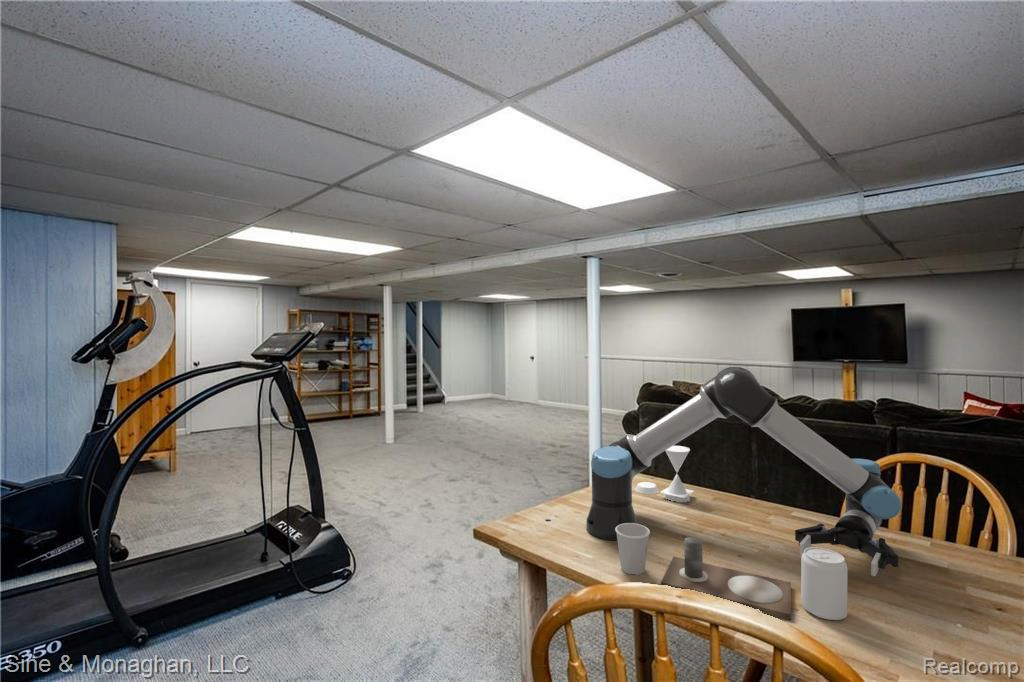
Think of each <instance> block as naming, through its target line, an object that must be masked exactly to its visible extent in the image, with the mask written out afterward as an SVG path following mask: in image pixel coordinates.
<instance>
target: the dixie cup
mask: <svg viewBox="0 0 1024 682" xmlns="http://www.w3.org/2000/svg"><path fill="white" fill-rule="evenodd" d="M615 531H616V532H617V540H616V541H617V546H618V552H619V553H618V554H619V563H620V567H621V568H620V569H621V571H622V572H623V573H625V574H627V573H628V575H630V574H635V575H634V576H640V575H643V574H644V573H645V571H646V570H645V569H646V561H647V560H646V559H647V556H648V555H647V554H648V545H649V537H650V533H651V530H650V529H649V528H648V527H646V526H645V525H642V524H640V523H638V524H635V523H624V524H620V525H618V526H617V527H616V528H615ZM642 573H643V574H642Z"/></svg>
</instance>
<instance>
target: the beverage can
mask: <svg viewBox="0 0 1024 682" xmlns="http://www.w3.org/2000/svg"><path fill="white" fill-rule="evenodd" d="M800 557H801V562H800V563H801V564H800V567H801V571H800V573H801V574H800V576H801V579H800V581H801V583H800V585H801V586H800V587H801V588H800V590H801V591H800V592H801V593H800V597H801V598H800V599H801V600H800V601H801V602H800V603H801V606H802V607H803V608H804V609H805V610H806V611H807V612H809V613H810V614H812V615H814V616H815V617H818V618H820V619H823V620H830V621H840V620H844V619H845V618H847V616H848V565H847V562H846V561H845V557H844V556H843V555H842V554H841V553H839V552H837V551H835V550H831V549H828V548H824V547H817V546H811V547H809V548H806V549H805V550H804V553H803V554H802V555H801V556H800Z"/></svg>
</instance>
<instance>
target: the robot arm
mask: <svg viewBox="0 0 1024 682" xmlns="http://www.w3.org/2000/svg"><path fill="white" fill-rule="evenodd" d="M733 415H734V416H736V417H737V418H739V419H740V420H742V421H743V422H744V423H746V424H747V425H748V426H750V427H751V428H759V429H760V430H762V431H763V432H764V433H766V434H767V435H768V436H770V437H771V438H772V439H774V440H775V441H776V442H778V443H779V444H780V445H781V446H783V447H785V448H786V449H787V450H789V451H790V452H791V453H792V454H793V455H795V456H796V457H798V459H800V460H802V461H803V462H804V463H805V464H807V465H808V466H809V467H811V468H812V469H813V470H815V471H816V472H817V473H818V474H819V475H821V476H823V477H824V478H825V479H827V480H828V481H829V482H831V483H832V484H833V485H834V486H836V487H837V488H839V489H840V490H841V491H843V492H844V493H845V512H844V513H843V515H841V517H840V518H839V519H838V521H837V522H836V524H835V526H834V527H832V528H827V527H825V524H824V523H818V524H816V525H813V526H808V527H803V528H799V529H795V530H794V540H795V541H796V542H798V546H799V556H802V554H803V553H804V550H805V549H806V548H809V547H812V545H818V544H819V545H820V544H821V545H822V544H830V545H832V546H835V545H841V546H845V547H847V548H850V549H853V550H858V551H859V552H861V553H862V554H863V553H865V554H866V555H867V556H869V557H871V559H872V560H871V562H870V575H871V576H872V577H876V576H877V574H878V572H879V569H880V570H885V569H886V568H887V566H888V565H890V566H891V567H892V568H899V555H898V554H897V553H896V552H895V551H894V550H893V549H892V548H891V546H889V545H888V544H887V543H886V539H885V538H883V537H879V538H878V539H873V538H874V536H875V534H876V532H877V530H878V529H879V528H880V527H881V525H882V522H883V520H891V519H892V518H895V517H896V516H898V515H899V513H901V510H902V500H901V498H900V497H899V495H898V494H897V492H896V491H895V490H893V489H892V488H891V487H890V486H889V485H887V484H886V482H885V481H883V479H882V478H881V475H882V472H881V469H880V468H881V467H880V464H879V463H878V462H876V461H874V460H870V459H866V458H865V459H864V458H851V457H849V456H848V455H846V454H845V453H843V452H842V451H841V450H839V448H837V447H835V446H834V445H832V444H831V443H830V442H829V441H827V440H826V439H825V438H823V437H822V436H820V435H819V434H818V433H817V432H815V431H814V430H813V429H811V428H810V427H808V426H807V425H806V424H804V423H803V422H801V420H799V419H797V417H795V416H794V415H792V414H790V413H789V412H788V411H787V410H786V409H784V408H783V407H781V406H780V405H779V404H778V399H777V398H776V397H774V396H773V395H772V394H770V393H769V392H768V391H767V390H765V388H764V387H763V386H762V385H761V384H760V383H759V381H758V380H757V378H756V377H755V375H754V374H753V373H752V372H751V371H750V370H748V369H747V368H745V367H741V366H729V367H725V368H723V369H722V370H720V371H719V372H718V373H717V374H716V375H715V376H714V377H712V378H711V379H710V380H708V381H706V382H704V384H702V385H701V386H700V390H699V393H698V394H697V395H695V396H693V397H692V398H690V399H689V400H687V401H686V402H684V403H683V404H681V405H679V406H678V407H676V408H675V409H673V410H672V411H671V412H669V413H668V414H666V415H664V416H663V417H661V418H659V420H657V421H656V422H654V423H652V424H651V425H650V426H648V427H646V428H645V429H643V430H642V431H640V432H639V433H637V434H636V435H635V434H630V433H628V434H627V435H625V436H624V437H623V438H621V439H619V440H616V441H614V442H612V443H610V444H609V445H608V446H604V447H602V448H601V447H599V448H597V449H596V450H594V451H593V453H592V454H591V460H590V466H591V505H590V508H589V512H588V514H587V518H586V530H587V532H588V533H589V534H590V535H592V536H594V537H596V538H599V539H603V540H610V541H618V540H617V532H616V531H615V528H616V527H617V526H618V525H620V524H624V523H635V524H639V521H638V519H637V517H636V516H637V515H636V513H635V509H634V506H633V490H632V489H633V480H634V478H635V476H636V475H638V474H640V473H642V472H643V471H644V470H646V469H648V468H649V467H651V466H652V460H653V459H654V458H656V457H657V456H659V455H660V454H662V453H663V452H666V451H665V450H667V449H668V448H670V447H672V446H676V444H678V443H680V442H682V441H683V440H684V439H686V438H688V437H689V436H691V435H692V434H694V433H695V432H698V431H699V430H700V429H701V428H703V427H705V426H706V425H708V424H709V423H712V422H713V421H714V420H716V419H718V418H719V419H720V418H721V419H728V418H729V417H731V416H733Z"/></svg>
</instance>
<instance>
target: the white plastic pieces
mask: <svg viewBox="0 0 1024 682" xmlns="http://www.w3.org/2000/svg"><path fill="white" fill-rule="evenodd" d="M690 451H691V449H690V447H687V446H681V445H673V446H672V447H670V448H668V449H667V450H665V451H664V452H665V454H666V455H667V456H668V459H669V461H670V463H671V465H672V467H673V468H674V471H675V472H676V474H675V475H674V478H673V480H672V481H671V483H670V484H669V486H667V487H666V488H665V489H663V490H661V491H660V490H659V488H658V486H657V484H656V483H654V482H650V481H641V482H638V483H637V485H636V487H635V488H634V491H635V490H636V491H637V492H640V493H645V494H655V495H657V494H656V493H658V494H659V493H661V494H664V495H663V497H665V498H666V500H667V499H668V500H667V501H669V500H671V501H670V502H673V501H676V502H675V503H687V501H688V502H690V501H691V497H690V495H691V494H692V493H694V492H695V490H691V489H687V488H685V486H684V484H683V482H682V480H681V478H680V476H679V474H678V472H679V470H680V468H681V467H682V465H683V463H684V461H685V460H686V457H687V456H688V454H690ZM636 491H635V492H636ZM637 492H636V493H637ZM640 493H639V494H640ZM665 498H664V499H665Z"/></svg>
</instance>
